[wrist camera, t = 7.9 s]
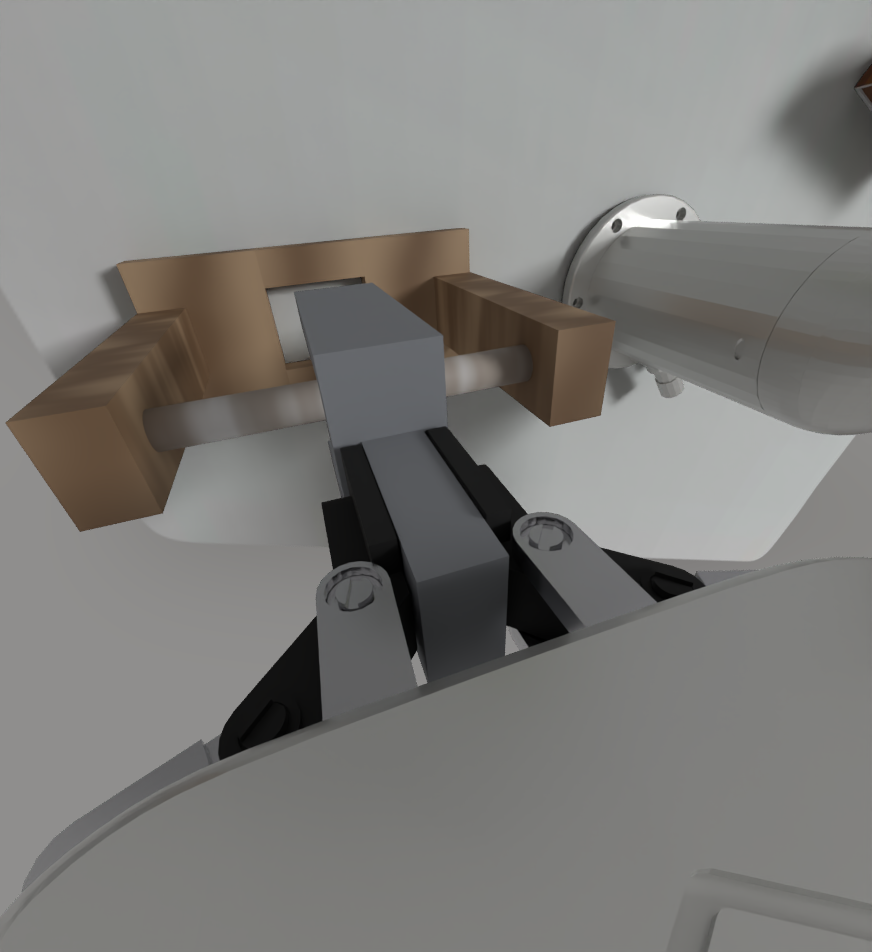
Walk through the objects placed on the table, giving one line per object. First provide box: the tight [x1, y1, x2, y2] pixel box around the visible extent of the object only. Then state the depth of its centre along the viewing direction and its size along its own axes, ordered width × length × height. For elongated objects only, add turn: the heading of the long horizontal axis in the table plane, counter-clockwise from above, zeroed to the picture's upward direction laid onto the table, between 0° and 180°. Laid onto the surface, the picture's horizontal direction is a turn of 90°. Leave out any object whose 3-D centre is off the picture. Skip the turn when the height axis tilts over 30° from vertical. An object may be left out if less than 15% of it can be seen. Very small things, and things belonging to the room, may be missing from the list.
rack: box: [6, 228, 616, 532], centre depth 22 cm, size 20×9×16 cm, turn 94°
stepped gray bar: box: [294, 283, 509, 683], centre depth 13 cm, size 8×3×14 cm, turn 4°
